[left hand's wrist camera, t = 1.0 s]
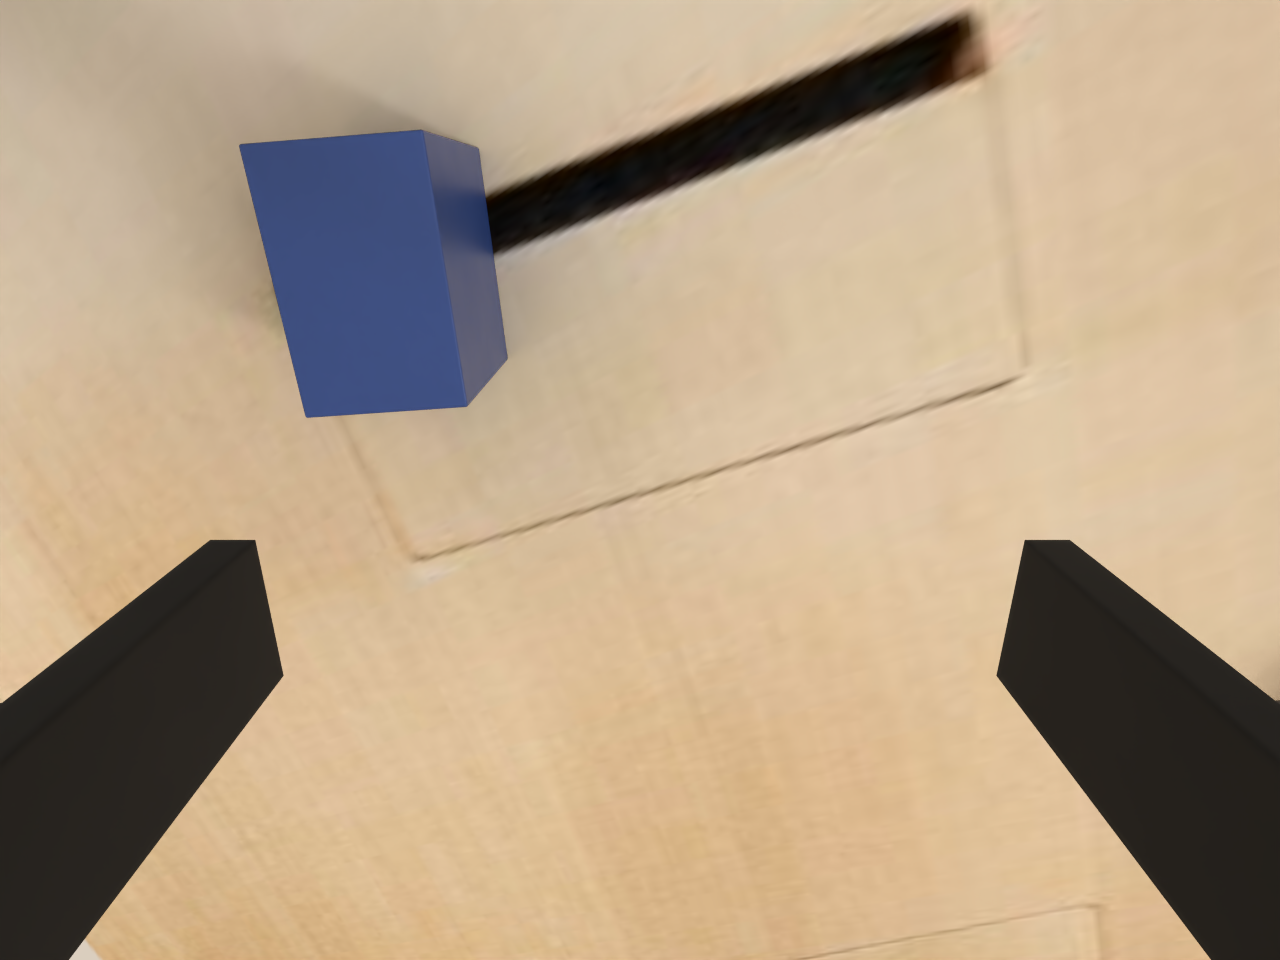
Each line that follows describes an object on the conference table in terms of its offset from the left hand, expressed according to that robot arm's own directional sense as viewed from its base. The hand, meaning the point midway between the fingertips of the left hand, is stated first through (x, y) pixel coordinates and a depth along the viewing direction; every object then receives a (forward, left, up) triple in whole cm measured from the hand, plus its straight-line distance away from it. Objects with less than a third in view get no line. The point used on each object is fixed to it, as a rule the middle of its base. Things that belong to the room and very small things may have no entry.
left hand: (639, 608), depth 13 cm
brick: (-1, -10, -23) cm, 25 cm away
